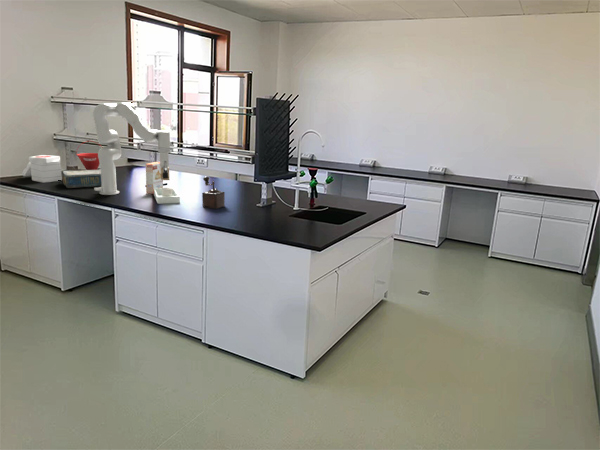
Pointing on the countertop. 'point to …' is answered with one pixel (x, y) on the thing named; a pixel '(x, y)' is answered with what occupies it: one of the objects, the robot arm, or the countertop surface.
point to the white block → (167, 192)
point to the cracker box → (153, 177)
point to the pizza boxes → (44, 168)
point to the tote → (166, 199)
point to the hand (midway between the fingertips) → (165, 177)
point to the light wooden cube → (162, 174)
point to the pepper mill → (213, 197)
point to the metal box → (82, 178)
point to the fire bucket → (89, 160)
